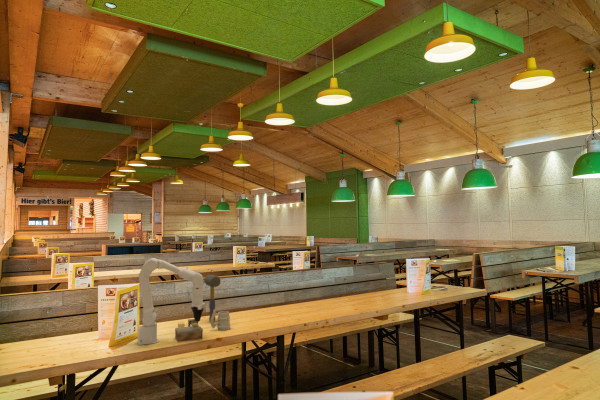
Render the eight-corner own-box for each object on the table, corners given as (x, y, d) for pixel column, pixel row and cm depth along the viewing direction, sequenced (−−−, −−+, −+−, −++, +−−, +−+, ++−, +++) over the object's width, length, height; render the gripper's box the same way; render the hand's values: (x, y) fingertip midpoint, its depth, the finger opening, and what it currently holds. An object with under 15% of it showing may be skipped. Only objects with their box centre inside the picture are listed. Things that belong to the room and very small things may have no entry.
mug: (231, 329, 227) (231, 308, 228) (212, 332, 222) (212, 311, 223) (228, 326, 234) (228, 306, 235) (209, 329, 229) (209, 308, 230)
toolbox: (177, 341, 203) (177, 327, 204) (173, 334, 218) (173, 321, 218) (202, 338, 209) (202, 324, 210) (197, 331, 223) (197, 318, 224)
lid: (177, 334, 204) (177, 325, 204) (175, 330, 213) (175, 321, 213) (202, 331, 209) (202, 322, 210) (198, 327, 218) (199, 319, 219)
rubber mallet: (203, 320, 251) (203, 274, 254) (214, 319, 255) (214, 273, 258) (210, 324, 241) (210, 276, 243) (221, 322, 245) (221, 275, 248)
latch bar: (192, 326, 214) (192, 324, 214) (189, 323, 223) (189, 320, 223) (198, 326, 215) (198, 323, 215) (195, 322, 224) (195, 320, 224)
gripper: (207, 296, 207) (207, 322, 206) (202, 293, 220) (202, 317, 219) (194, 298, 204) (193, 324, 203) (189, 294, 217) (189, 318, 216)
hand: (197, 320), depth 210 cm, fingers open, 3 cm apart
